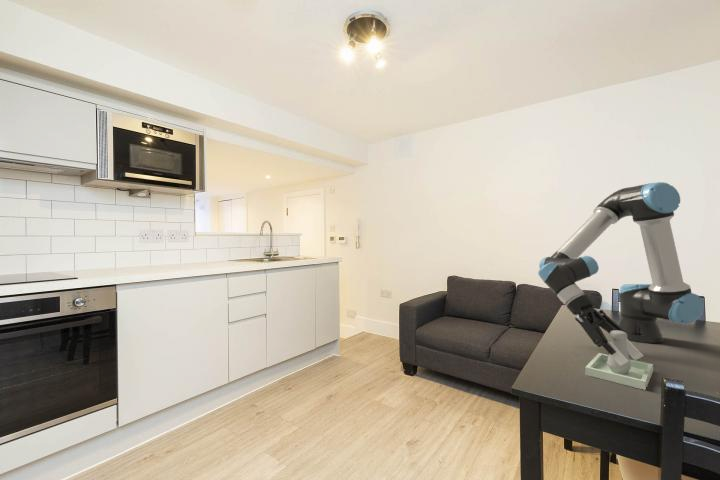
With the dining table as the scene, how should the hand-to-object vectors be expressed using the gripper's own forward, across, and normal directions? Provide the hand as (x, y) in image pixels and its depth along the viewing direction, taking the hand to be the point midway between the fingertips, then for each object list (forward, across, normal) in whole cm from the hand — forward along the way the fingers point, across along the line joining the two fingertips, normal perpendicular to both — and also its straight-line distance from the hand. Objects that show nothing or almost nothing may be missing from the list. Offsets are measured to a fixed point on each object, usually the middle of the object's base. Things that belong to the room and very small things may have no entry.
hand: (632, 360), depth 96 cm
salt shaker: (+1, 0, -6) cm, 6 cm away
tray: (+1, 0, -6) cm, 6 cm away
